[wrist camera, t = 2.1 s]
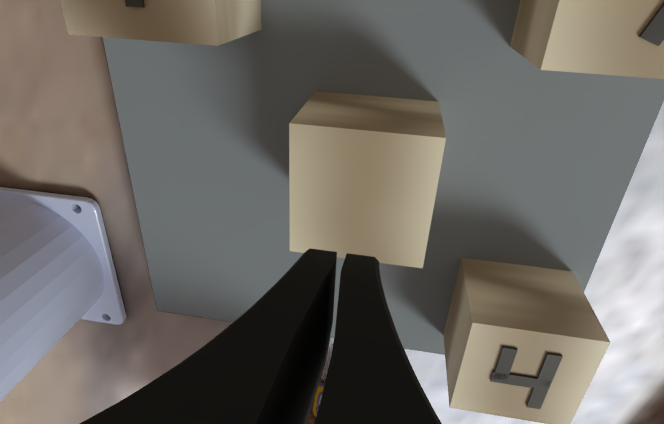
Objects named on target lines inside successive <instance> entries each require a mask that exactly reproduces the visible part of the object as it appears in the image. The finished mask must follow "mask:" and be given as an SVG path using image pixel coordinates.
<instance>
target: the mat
mask: <svg viewBox="0 0 664 424" xmlns="http://www.w3.org/2000/svg"><path fill="white" fill-rule="evenodd" d="M519 5H520V0H261V24H262V30H259V31H256V32H254V33H251V34H248V35H246V36H243V37H240V38H238V39H235V40H232V41H230V42H227V43H224V44H222V45H219V46H214V45H200V44H187V43H173V42H160V41H147V40H133V39H120V38H106V37H103V42H104V47H105V52H106V57H107V62H108V67H109V72H110V77H111V82H112V87H113V92H114V97H115V102H116V107H117V112H118V117H119V122H120V127H121V132H122V138H123V143H124V148H125V153H126V158H127V163H128V168H129V173H130V178H131V183H132V188H133V193H134V198H135V203H136V208H137V213H138V218H139V223H140V228H141V233H142V238H143V243H144V249H145V254H146V259H147V264H148V269H149V274H150V279H151V284H152V289H153V294H154V299H155V304H156V309H157V311H162V312H168V313H175V314H181V315H188V316H194V317H201V318H207V319H214V320H221V321H227V322H234V321H235V320H237V319H238V318H239V317H240V316H241V315H242V314H244V313H245V312H246V311H247V310H248V309H249V308H251V307H252V306H253V305H254V304H255V303H256V302H257V301H258V300H259V299H260V298H261V297H262V296H263V295H264V294H265V293H266V292H267V291H268V290H269V289H270V288H272V287H273V286H274V285H275V284H276V283H277V282H278V281H279V280H280V279H281V278H282V276H283V275H284V274H285V273H286V272H287V271H288V270H289V269H290V268H291V267H292V266H293V265H294V264H295V263H296V261H297V260H298V259H299V258H300V257H301V256H302V255H303V254H304V253H301V252H293V251H290V191H289V123H290V122H291V121H292V119H293V118H294V117H295V116H296V114H297V113H298V112H299V111H300V110H301V108H302V107H303V106H304V105H305V103H306V102H307V101H308V100H309V99H310V97H311V96H312V95H313V94H314V92H315V91H320V92H332V93H344V94H355V95H367V96H379V97H391V98H402V99H414V100H426V101H438V102H439V106H440V111H441V115H442V120H443V125H444V130H445V135H446V142H445V147H444V153H443V158H442V164H441V170H440V175H439V181H438V186H437V192H436V197H435V203H434V208H433V214H432V219H431V225H430V231H429V236H428V242H427V247H426V253H425V258H424V264H423V268H416V267H408V266H400V265H393V264H385V263H379V269H380V277H381V282H382V287H383V290H384V294H385V298H386V302H387V305H388V308H389V311H390V314H391V317H392V320H393V322H394V325H395V328H396V331H397V333H398V336H399V339H400V341H401V344H402V346H403V348H404V349H411V350H418V351H424V352H431V353H437V354H444V355H445V347H444V336H443V335H444V330H445V326H446V322H447V317H448V313H449V309H450V304H451V300H452V296H453V291H454V287H455V283H456V278H457V274H458V270H459V265H460V261H461V258H469V259H477V260H485V261H493V262H501V263H509V264H517V265H525V266H533V267H541V268H549V269H557V270H565V271H572V272H573V274H574V276H575V277H576V279H577V281H578V283H579V285H580V287H581V289H582V291H583V292H584V290H585V288H586V286H587V283H588V281H589V278H590V276H591V274H592V271H593V269H594V266H595V264H596V262H597V259H598V257H599V254H600V252H601V250H602V247H603V245H604V242H605V240H606V238H607V235H608V233H609V230H610V228H611V226H612V223H613V221H614V218H615V216H616V214H617V211H618V209H619V206H620V204H621V202H622V199H623V197H624V194H625V192H626V190H627V187H628V185H629V182H630V180H631V178H632V175H633V173H634V170H635V168H636V166H637V163H638V161H639V158H640V156H641V154H642V151H643V149H644V146H645V144H646V142H647V139H648V137H649V134H650V132H651V130H652V127H653V125H654V122H655V120H656V118H657V115H658V113H659V110H660V108H661V106H662V103H663V101H664V79H656V78H642V77H629V76H616V75H602V74H589V73H575V72H562V71H549V70H540V69H539V68H537V67H536V66H535V65H533V64H532V63H531V62H529V61H528V60H527V59H526V58H524V57H523V56H522V55H520V54H519V53H518V52H516V51H515V50H514V49H512V48H511V47H510V44H511V39H512V35H513V31H514V26H515V22H516V18H517V13H518V9H519ZM344 260H345V258H339V257H337V262H336V278H335V295H334V311H333V324H332V330H331V335H330V337H332V338H335V327H336V317H337V306H338V296H339V285H340V275H341V269H342V266H343V263H344Z"/></svg>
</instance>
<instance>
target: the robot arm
mask: <svg viewBox="0 0 664 424" xmlns="http://www.w3.org/2000/svg"><path fill="white" fill-rule="evenodd" d="M77 205H78V206H80V208H81V209H80V208H79V207H78V206H77ZM336 262H337V252H333V251H326V250H318V249H308V250H307V251H306V252H304V254H303V255H302V256H301V257H300V258H299V259H298V260H297V261H296V263H295V264H294V265H293V266H292V267H291V268H290V269H289V270H288V271H287V272H286V273H285V274H284V275H283V276H282V278H281V279H280V280H279V281H278V282H277V283H276V284H275V285H274V286H273V287H272V288H270V289H269V290H268V291H267V292H266V293H265V294H264V295H263V296H262V297H261V298H260V299H259V300H258V301H257V302H256V303H255V304H254V305H253V306H252V307H251V308H249V309H248V310H247V311H246V312H245V313H244V314H242V315H241V316H240V317H239V318H238V319H237V320H235V321H234V322H233V323H232V324H231V325H230V326H228V327H227V328H226V329H225V330H224V331H222V332H221V333H220V334H219V335H217V336H216V337H215V338H214V339H212V340H211V341H210V342H209V343H207V344H206V345H205V346H203V347H202V348H201V349H199V350H198V351H196V352H195V353H194V354H192V355H191V356H190V357H188V358H187V359H185V360H184V361H183V362H181V363H180V364H178V365H177V366H175V367H174V368H172V369H171V370H169V371H168V372H166V373H165V374H163V375H162V376H160V377H158V378H157V379H155V380H154V381H152V382H151V383H149V384H148V385H146V386H144V387H143V388H141V389H140V390H138V391H136V392H135V393H133V394H132V395H130V396H128V397H127V398H125V399H123V400H122V401H120V402H118V403H117V404H115V405H113V406H111V407H109V408H107V409H106V410H104V411H102V412H100V413H98V414H97V415H95V416H93V417H91V418H89V419H87V420H86V421H84V422H82V423H80V424H307V421H308V418H309V415H310V411H311V408H312V405H313V402H314V399H315V395H316V392H317V389H318V385H319V382H320V379H321V376H322V372H323V369H324V366H325V361H326V356H327V351H328V346H329V340H330V335H331V330H332V324H333V311H334V295H335V278H336ZM80 319H83V320H90V321H96V322H102V323H109V324H115V325H120V324H122V323H123V322H124V321H125V319H126V313H125V309H124V304H123V300H122V296H121V292H120V288H119V284H118V280H117V276H116V272H115V268H114V264H113V260H112V255H111V251H110V247H109V243H108V239H107V235H106V231H105V227H104V223H103V219H102V215H101V211H100V207H99V205H98V203H97V202H96V201H95V200H93V199H91V198H87V197H79V196H71V195H63V194H54V193H46V192H38V191H30V190H22V189H13V188H5V187H0V402H1V401H2V400H3V399H4V398H5V397H6V396H7V395H8V393H9V392H10V391H11V390H12V389H13V388H14V387H15V386H16V385H17V384H18V383H19V382H20V381H21V380H22V379H23V378H24V377H25V376H26V375H27V374H28V373H29V372H30V371H31V370H32V369H33V367H34V366H35V365H36V364H37V363H38V362H39V361H40V360H41V359H42V358H43V357H44V356H45V355H46V354H47V353H48V352H49V351H50V350H51V349H52V348H53V347H54V346H55V345H56V344H57V342H58V341H59V340H60V339H61V338H62V337H63V336H64V335H65V334H66V333H67V332H68V331H69V330H70V329H71V328H72V327H73V326H74V325H75V324H76V323H77V322H78V321H79V320H80ZM315 424H441V422H440V420H439V418H438V417H437V415H436V413H435V411H434V410H433V408H432V406H431V404H430V402H429V400H428V398H427V397H426V395H425V393H424V391H423V389H422V387H421V385H420V383H419V381H418V379H417V377H416V375H415V373H414V371H413V369H412V366H411V364H410V362H409V360H408V357H407V355H406V353H405V351H404V348H403V346H402V344H401V341H400V339H399V336H398V333H397V331H396V328H395V325H394V322H393V320H392V317H391V314H390V311H389V308H388V305H387V302H386V298H385V294H384V290H383V287H382V282H381V277H380V269H379V261H378V260H377V259H376V258H375V257H372V256H365V255H357V254H349V253H347V254H346V257H345V260H344V263H343V266H342V269H341V275H340V285H339V296H338V306H337V317H336V327H335V338H334V344H333V351H332V357H331V361H330V365H329V369H328V373H327V377H326V381H325V385H324V389H323V393H322V397H321V401H320V405H319V409H318V412H317V416H316V420H315Z"/></svg>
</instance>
